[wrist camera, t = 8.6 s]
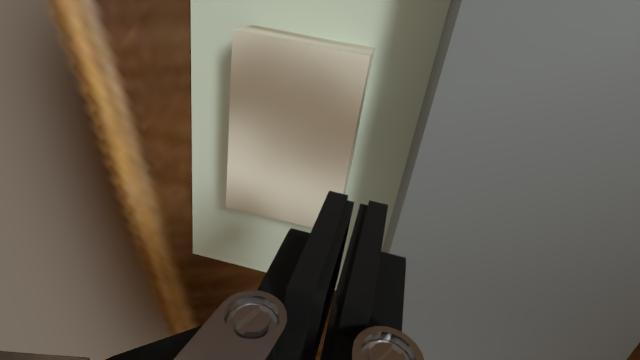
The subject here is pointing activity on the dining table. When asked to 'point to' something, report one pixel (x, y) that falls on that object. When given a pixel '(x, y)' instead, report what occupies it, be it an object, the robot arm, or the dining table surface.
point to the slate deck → (525, 185)
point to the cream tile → (292, 120)
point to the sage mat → (375, 125)
